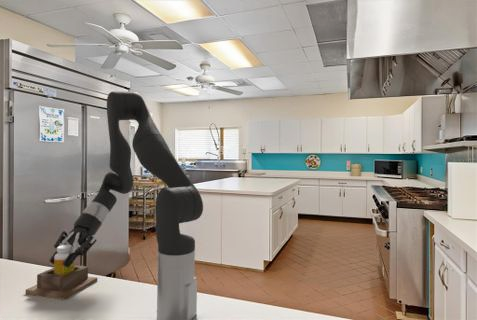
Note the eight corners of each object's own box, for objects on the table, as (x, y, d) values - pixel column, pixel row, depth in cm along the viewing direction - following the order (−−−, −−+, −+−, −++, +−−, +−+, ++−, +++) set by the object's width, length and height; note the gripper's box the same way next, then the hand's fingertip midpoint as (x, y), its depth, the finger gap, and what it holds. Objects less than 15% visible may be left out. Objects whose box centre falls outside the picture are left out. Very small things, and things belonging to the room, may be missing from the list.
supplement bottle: (64, 282, 88) (65, 249, 88) (49, 280, 89) (49, 248, 89) (78, 275, 93) (78, 244, 93) (63, 273, 94) (63, 243, 94)
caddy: (97, 281, 96) (97, 265, 96) (65, 299, 83) (66, 281, 83) (61, 276, 99) (61, 261, 99) (25, 293, 86) (25, 276, 86)
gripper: (70, 210, 101) (34, 255, 90) (101, 213, 95) (67, 262, 84) (83, 222, 106) (51, 266, 95) (114, 226, 100) (82, 274, 89)
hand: (58, 264), depth 89 cm, fingers closed on supplement bottle, 5 cm apart
